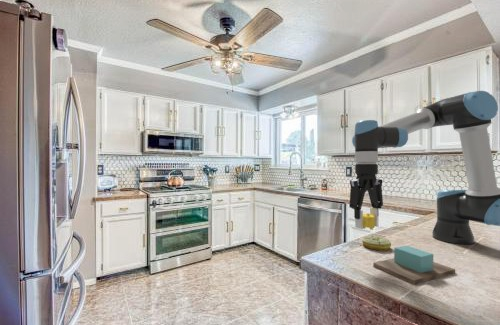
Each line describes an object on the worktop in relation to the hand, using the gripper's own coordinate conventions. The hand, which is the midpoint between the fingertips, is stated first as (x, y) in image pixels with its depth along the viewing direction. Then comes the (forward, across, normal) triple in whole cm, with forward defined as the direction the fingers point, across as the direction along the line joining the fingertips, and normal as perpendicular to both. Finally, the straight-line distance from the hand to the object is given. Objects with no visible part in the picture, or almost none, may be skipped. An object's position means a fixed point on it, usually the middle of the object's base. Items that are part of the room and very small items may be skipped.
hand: (366, 226), depth 91 cm
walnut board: (+12, -8, +12) cm, 19 cm away
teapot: (0, 0, 0) cm, 1 cm away
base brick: (+11, -8, +12) cm, 18 cm away
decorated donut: (+13, -16, -9) cm, 22 cm away
